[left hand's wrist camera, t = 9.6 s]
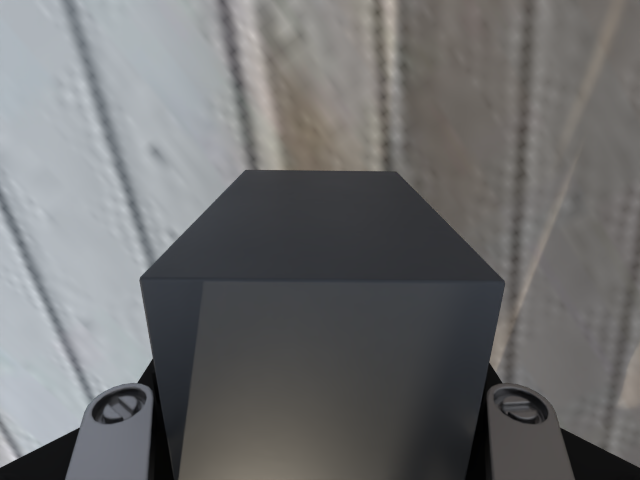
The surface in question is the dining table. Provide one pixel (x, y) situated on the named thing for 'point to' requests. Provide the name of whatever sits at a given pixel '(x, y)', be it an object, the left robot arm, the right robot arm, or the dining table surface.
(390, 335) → the beam
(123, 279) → the dining table surface
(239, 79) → the dining table surface
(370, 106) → the dining table surface
